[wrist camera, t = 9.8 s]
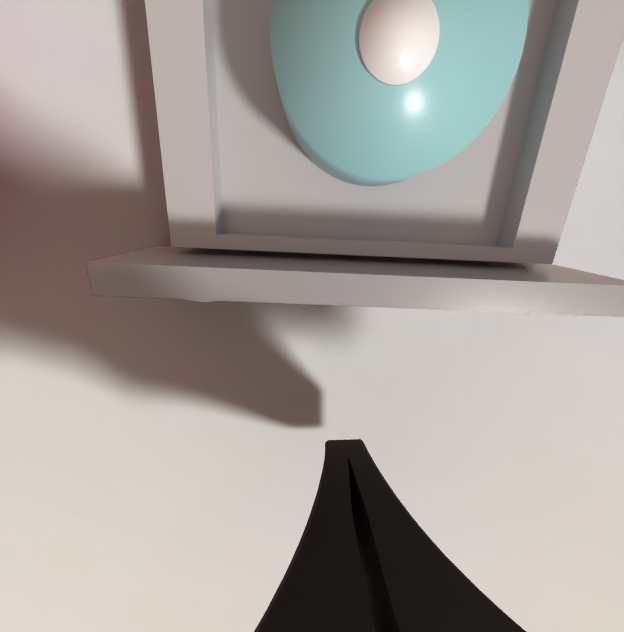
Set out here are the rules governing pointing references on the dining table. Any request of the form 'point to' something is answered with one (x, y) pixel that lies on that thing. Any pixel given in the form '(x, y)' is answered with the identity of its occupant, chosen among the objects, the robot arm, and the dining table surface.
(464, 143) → the disc
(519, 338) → the dining table surface
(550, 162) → the tray
